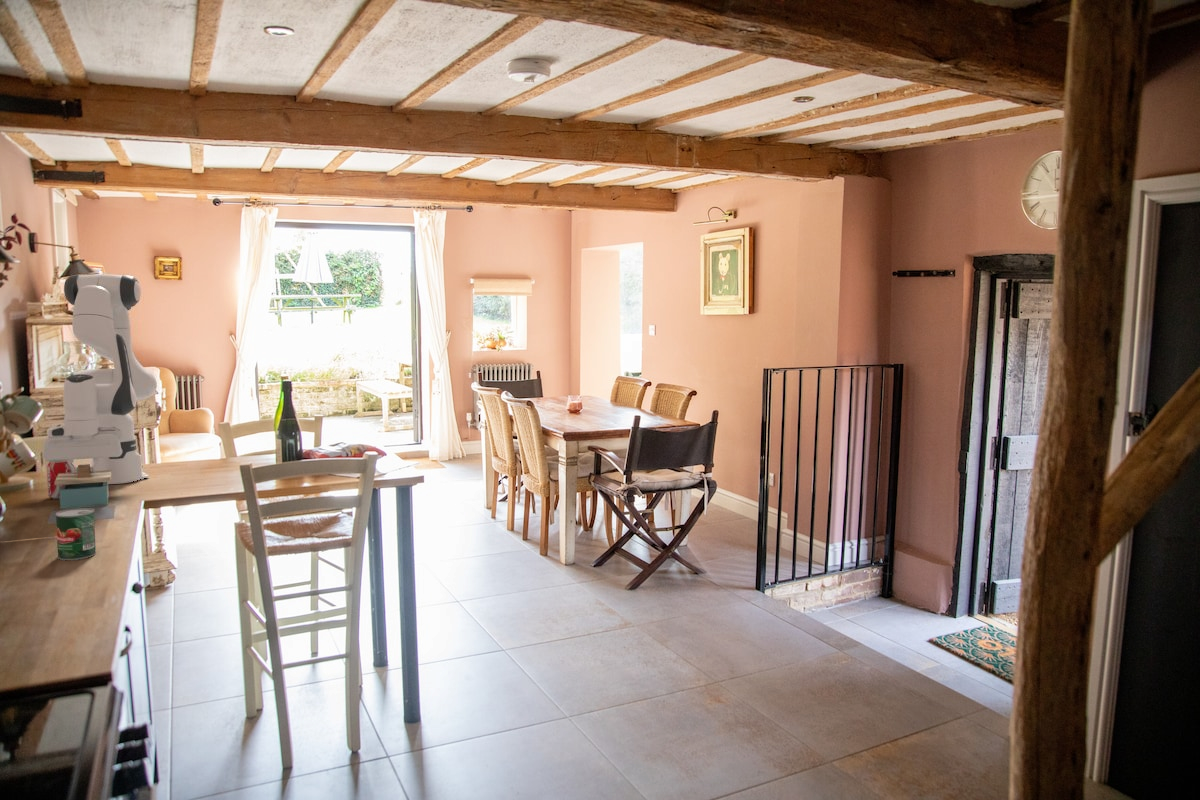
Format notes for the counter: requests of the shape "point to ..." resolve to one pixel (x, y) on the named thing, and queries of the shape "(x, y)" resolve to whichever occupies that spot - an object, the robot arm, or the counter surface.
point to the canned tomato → (75, 534)
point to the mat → (98, 514)
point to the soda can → (52, 473)
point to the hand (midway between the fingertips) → (83, 473)
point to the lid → (83, 476)
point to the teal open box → (84, 495)
